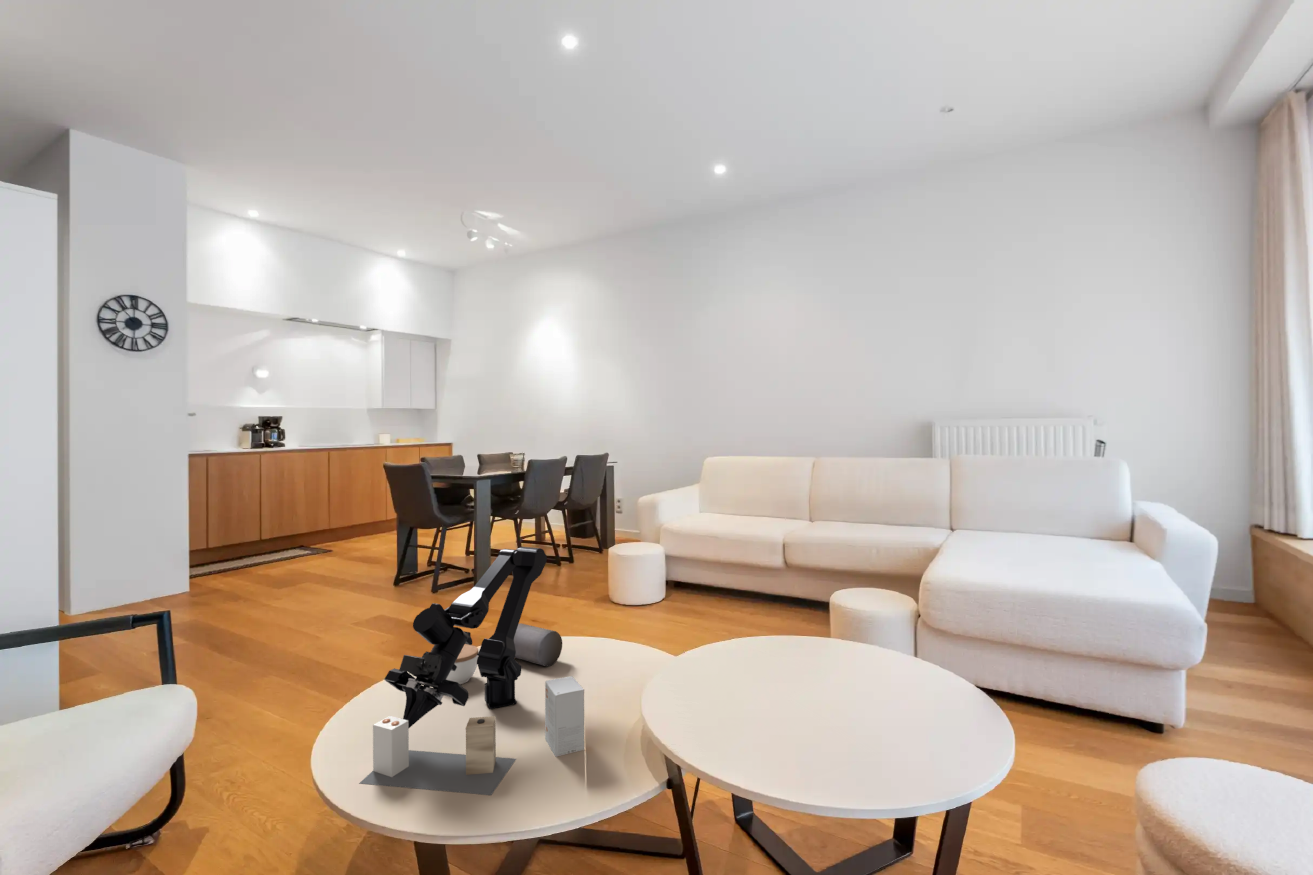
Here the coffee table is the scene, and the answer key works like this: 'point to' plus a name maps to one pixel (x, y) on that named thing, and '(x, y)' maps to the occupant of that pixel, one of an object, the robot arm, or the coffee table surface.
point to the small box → (564, 715)
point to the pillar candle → (537, 644)
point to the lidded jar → (464, 665)
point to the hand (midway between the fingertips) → (403, 728)
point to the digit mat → (442, 774)
